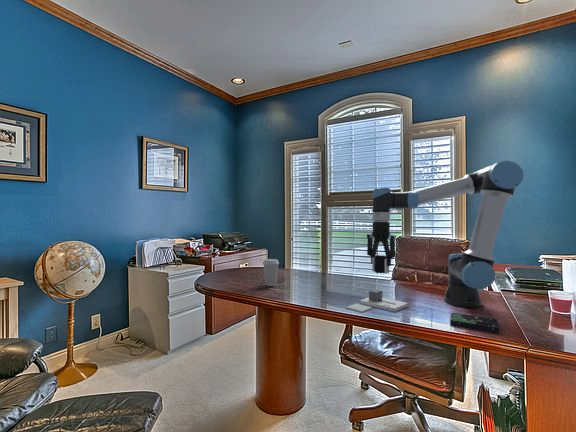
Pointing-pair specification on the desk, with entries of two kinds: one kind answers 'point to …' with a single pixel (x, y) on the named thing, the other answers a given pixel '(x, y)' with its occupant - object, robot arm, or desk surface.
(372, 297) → the switch tab
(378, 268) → the ink cartridge
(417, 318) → the desk surface
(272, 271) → the coffee cup
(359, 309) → the mat
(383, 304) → the switch panel
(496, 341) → the desk surface
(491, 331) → the disk drive
